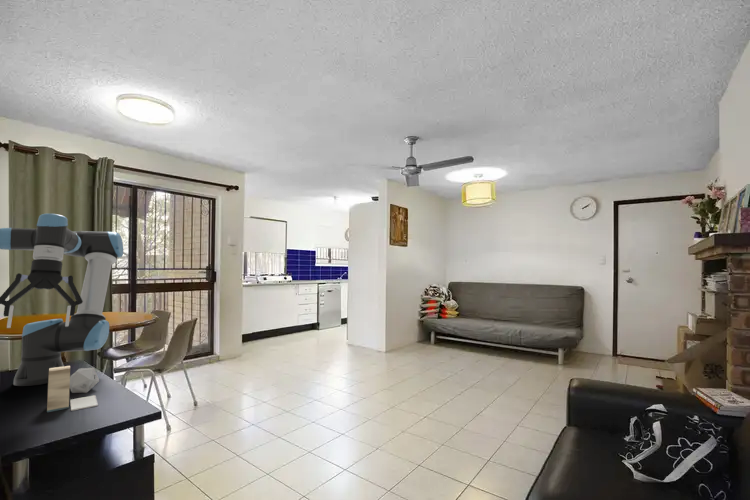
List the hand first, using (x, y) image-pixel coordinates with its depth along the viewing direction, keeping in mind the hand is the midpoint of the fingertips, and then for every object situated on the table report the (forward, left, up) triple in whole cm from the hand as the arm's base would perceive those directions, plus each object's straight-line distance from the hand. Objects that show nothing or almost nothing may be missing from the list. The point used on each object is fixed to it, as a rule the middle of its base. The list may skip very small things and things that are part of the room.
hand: (38, 327), depth 117 cm
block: (+5, +5, -25) cm, 26 cm away
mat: (+5, +12, -25) cm, 28 cm away
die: (-11, +12, -25) cm, 30 cm away
